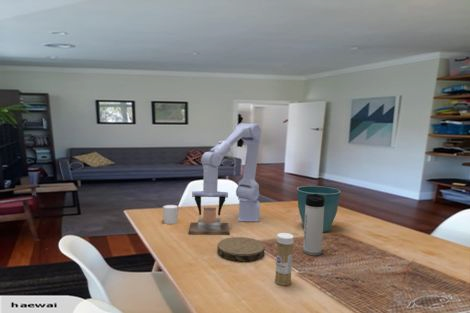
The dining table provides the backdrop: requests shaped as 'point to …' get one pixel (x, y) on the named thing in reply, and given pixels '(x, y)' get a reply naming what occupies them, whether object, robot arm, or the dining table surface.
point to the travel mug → (313, 224)
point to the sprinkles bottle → (284, 258)
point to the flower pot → (329, 203)
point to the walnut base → (200, 232)
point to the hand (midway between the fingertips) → (209, 214)
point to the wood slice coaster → (240, 249)
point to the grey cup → (170, 214)
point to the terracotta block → (209, 215)
